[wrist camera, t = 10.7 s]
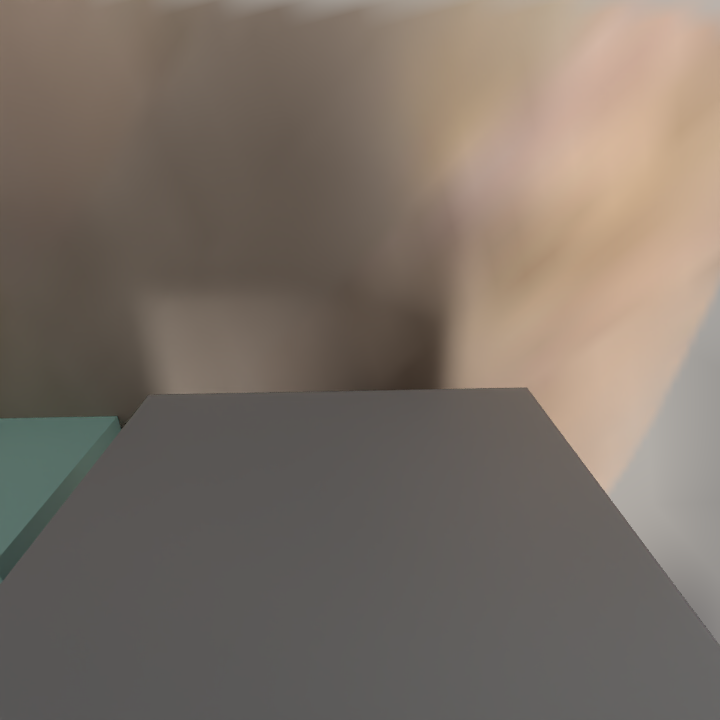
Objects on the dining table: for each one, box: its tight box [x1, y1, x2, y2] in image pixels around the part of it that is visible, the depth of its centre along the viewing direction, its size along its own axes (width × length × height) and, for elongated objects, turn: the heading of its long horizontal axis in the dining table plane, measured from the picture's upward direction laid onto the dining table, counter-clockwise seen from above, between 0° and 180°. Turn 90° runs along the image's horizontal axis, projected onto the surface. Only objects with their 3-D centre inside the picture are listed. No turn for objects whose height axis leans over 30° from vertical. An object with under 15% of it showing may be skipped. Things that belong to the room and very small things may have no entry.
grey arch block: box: [0, 388, 720, 720], centre depth 7 cm, size 7×7×6 cm
